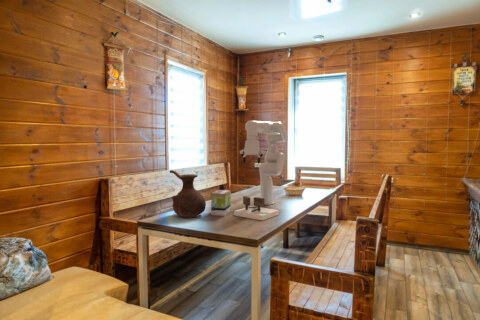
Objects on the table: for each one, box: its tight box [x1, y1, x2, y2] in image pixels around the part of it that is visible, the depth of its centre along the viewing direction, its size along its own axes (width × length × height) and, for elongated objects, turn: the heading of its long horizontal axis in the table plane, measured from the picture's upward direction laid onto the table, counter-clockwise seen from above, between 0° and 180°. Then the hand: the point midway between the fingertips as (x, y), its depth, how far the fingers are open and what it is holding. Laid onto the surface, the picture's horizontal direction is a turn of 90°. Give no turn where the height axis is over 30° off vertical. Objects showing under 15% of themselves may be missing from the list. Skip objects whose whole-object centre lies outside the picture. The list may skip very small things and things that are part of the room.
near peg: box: [251, 196, 265, 212], centre depth 202 cm, size 9×7×8 cm
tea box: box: [210, 189, 232, 217], centre depth 212 cm, size 15×10×15 cm
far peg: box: [242, 195, 258, 210], centre depth 210 cm, size 9×7×8 cm
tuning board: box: [233, 205, 279, 221], centre depth 207 cm, size 19×22×3 cm
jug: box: [169, 169, 207, 219], centre depth 205 cm, size 22×22×30 cm
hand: (251, 163), depth 219 cm, fingers open, 9 cm apart
